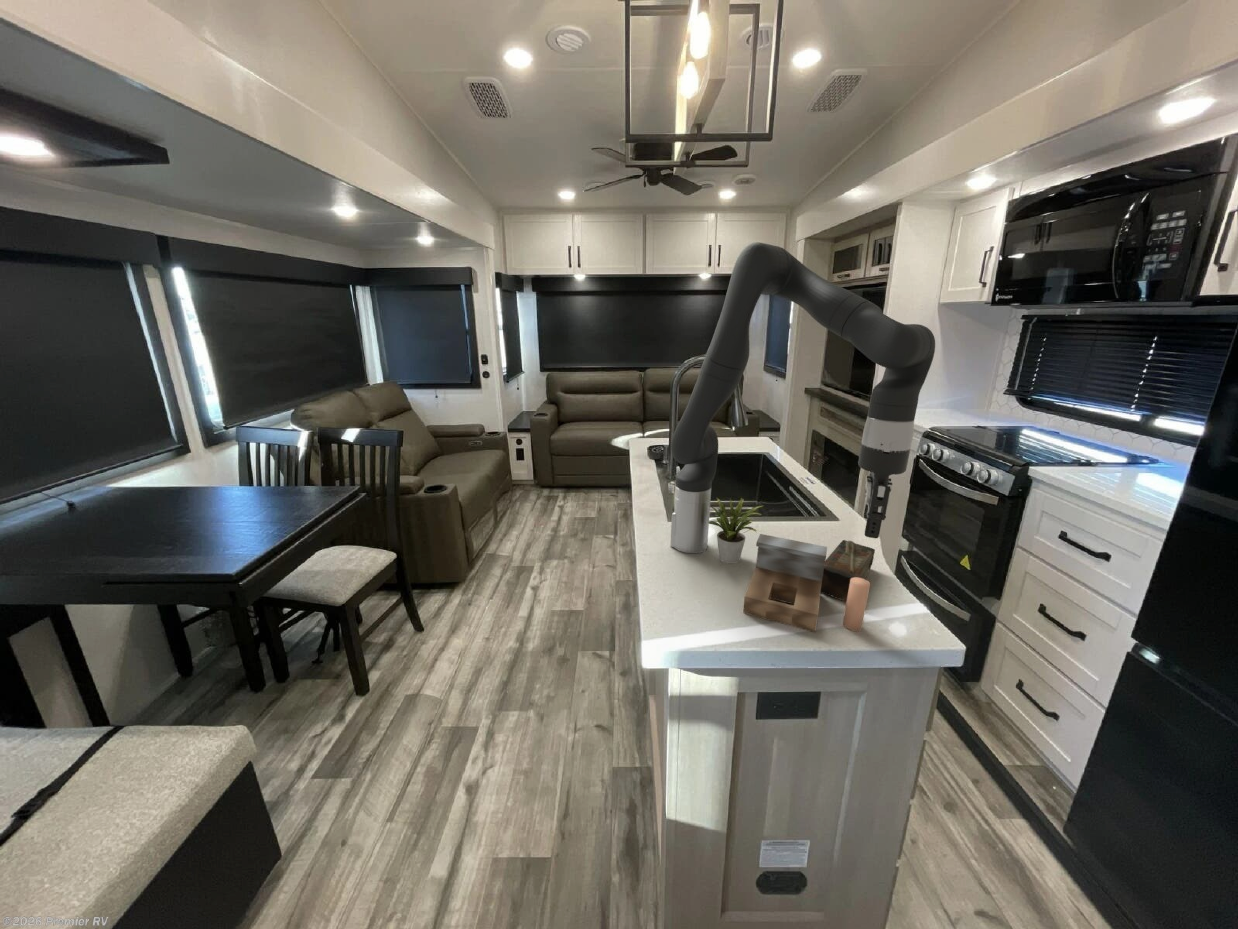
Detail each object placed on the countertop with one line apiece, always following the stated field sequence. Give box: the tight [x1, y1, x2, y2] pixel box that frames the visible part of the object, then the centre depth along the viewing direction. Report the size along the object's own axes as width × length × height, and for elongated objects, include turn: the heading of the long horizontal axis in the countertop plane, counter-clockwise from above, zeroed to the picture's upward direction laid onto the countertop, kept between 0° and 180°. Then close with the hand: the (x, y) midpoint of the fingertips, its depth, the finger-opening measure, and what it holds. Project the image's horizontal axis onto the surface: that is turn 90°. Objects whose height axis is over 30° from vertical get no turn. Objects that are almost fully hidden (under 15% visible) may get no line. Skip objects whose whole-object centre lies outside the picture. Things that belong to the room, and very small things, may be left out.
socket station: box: [742, 533, 828, 633], centre depth 96 cm, size 14×14×12 cm
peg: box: [842, 577, 871, 632], centre depth 89 cm, size 3×3×10 cm
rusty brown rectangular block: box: [821, 539, 876, 603], centre depth 106 cm, size 8×19×7 cm, turn 140°
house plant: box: [708, 497, 763, 564], centre depth 113 cm, size 14×14×16 cm
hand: (870, 527), depth 84 cm, fingers open, 8 cm apart
